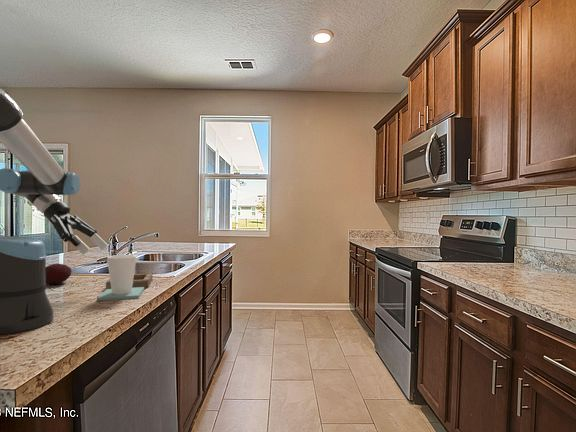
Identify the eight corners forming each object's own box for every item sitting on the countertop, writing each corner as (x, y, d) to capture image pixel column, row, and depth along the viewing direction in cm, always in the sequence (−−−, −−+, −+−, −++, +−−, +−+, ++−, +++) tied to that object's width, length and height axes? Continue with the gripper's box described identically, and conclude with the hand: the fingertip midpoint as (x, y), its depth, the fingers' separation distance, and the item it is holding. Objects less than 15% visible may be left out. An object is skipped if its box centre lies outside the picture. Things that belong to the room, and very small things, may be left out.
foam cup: (135, 294, 115) (135, 257, 115) (105, 296, 112) (105, 258, 112) (137, 288, 124) (137, 254, 124) (109, 290, 121) (109, 255, 121)
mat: (138, 298, 114) (138, 295, 114) (97, 300, 110) (97, 297, 110) (144, 289, 126) (144, 286, 126) (106, 291, 122) (106, 289, 122)
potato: (48, 281, 140) (48, 261, 140) (77, 280, 142) (77, 261, 142) (33, 287, 129) (33, 266, 129) (65, 286, 131) (65, 265, 131)
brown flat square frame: (148, 287, 129) (148, 280, 129) (105, 289, 125) (105, 282, 125) (152, 280, 144) (152, 273, 144) (114, 281, 139) (114, 274, 139)
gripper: (65, 214, 128) (104, 252, 130) (19, 214, 103) (68, 261, 105) (79, 201, 129) (118, 239, 130) (37, 198, 104) (86, 245, 105)
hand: (96, 249), depth 117 cm, fingers open, 13 cm apart
